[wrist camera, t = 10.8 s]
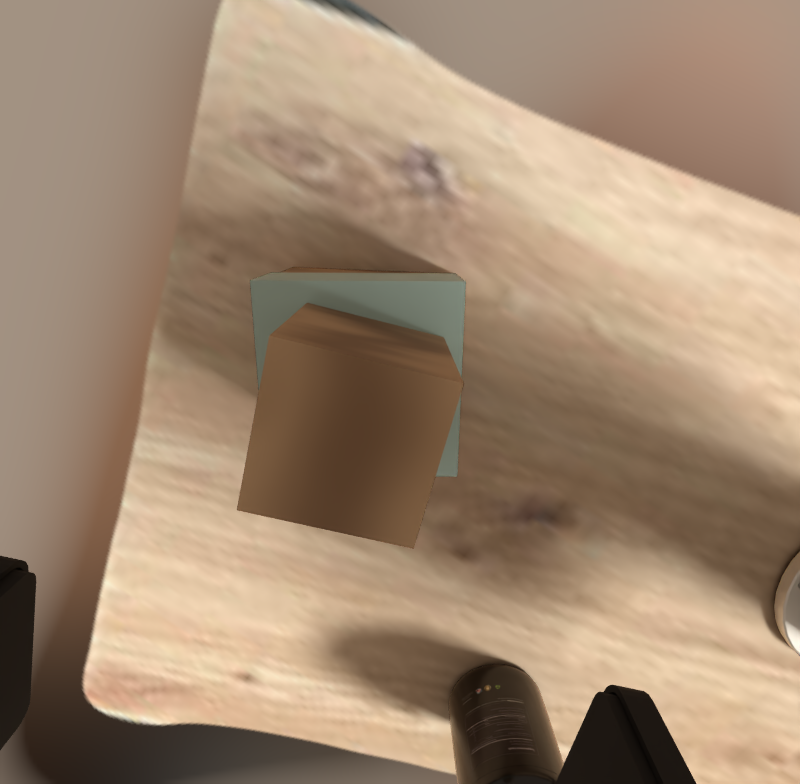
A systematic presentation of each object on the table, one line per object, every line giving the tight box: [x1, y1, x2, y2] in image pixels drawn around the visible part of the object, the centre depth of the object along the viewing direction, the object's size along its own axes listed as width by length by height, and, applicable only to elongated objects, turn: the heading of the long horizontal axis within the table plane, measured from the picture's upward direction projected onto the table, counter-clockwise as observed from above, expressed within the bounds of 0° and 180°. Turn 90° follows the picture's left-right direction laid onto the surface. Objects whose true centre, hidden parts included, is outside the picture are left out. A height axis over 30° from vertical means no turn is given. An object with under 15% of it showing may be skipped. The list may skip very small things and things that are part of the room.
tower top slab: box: [250, 272, 466, 477], centre depth 25 cm, size 9×9×4 cm
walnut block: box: [237, 303, 464, 549], centre depth 20 cm, size 6×6×7 cm
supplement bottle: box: [449, 664, 564, 784], centre depth 33 cm, size 7×7×12 cm
